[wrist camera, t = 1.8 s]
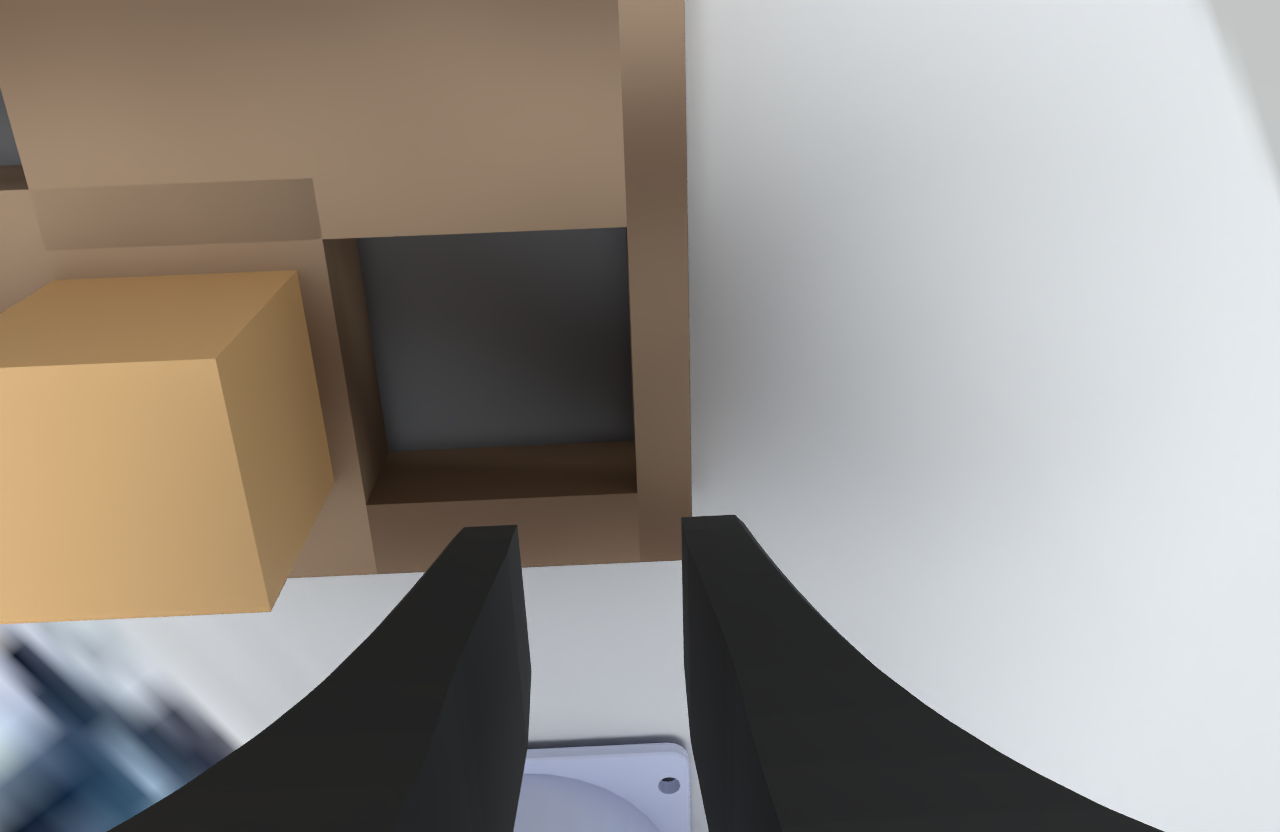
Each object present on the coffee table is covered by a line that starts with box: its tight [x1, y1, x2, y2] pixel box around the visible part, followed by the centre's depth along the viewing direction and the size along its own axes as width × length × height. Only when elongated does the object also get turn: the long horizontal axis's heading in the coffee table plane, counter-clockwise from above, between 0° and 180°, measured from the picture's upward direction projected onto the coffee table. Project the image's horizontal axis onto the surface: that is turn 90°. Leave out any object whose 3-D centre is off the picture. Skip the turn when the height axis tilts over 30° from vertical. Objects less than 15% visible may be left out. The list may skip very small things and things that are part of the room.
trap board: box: [0, 0, 692, 578], centre depth 18 cm, size 14×19×2 cm
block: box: [0, 270, 334, 624], centre depth 16 cm, size 4×4×4 cm
